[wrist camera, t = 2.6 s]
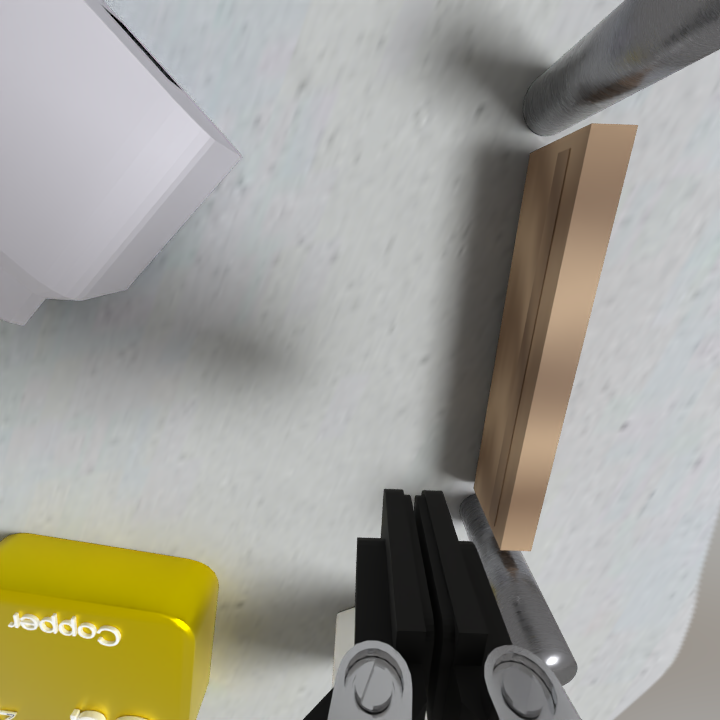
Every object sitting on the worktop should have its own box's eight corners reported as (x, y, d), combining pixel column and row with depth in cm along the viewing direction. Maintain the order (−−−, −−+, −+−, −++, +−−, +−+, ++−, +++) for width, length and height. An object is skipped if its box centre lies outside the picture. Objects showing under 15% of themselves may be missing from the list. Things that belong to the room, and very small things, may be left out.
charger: (-91, 234, 18) (77, -32, 14) (70, 362, 20) (248, 159, 17) (-243, 234, 13) (-52, -152, 10) (-14, 400, 16) (206, 132, 12)
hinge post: (528, 70, 15) (740, -140, 7) (584, 72, 15) (867, -135, 7) (518, 135, 16) (695, 22, 7) (572, 136, 16) (809, 26, 7)
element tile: (223, 559, 25) (192, 630, 21) (209, 691, 30) (181, 772, 25) (1, 523, 24) (-83, 589, 20) (24, 665, 29) (-39, 745, 24)
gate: (528, 153, 16) (590, 123, 12) (565, 154, 16) (639, 124, 12) (472, 488, 22) (499, 550, 17) (498, 489, 22) (531, 551, 18)
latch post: (462, 493, 22) (522, 650, 14) (500, 494, 22) (583, 652, 14) (457, 523, 23) (511, 689, 15) (494, 524, 23) (569, 691, 15)
